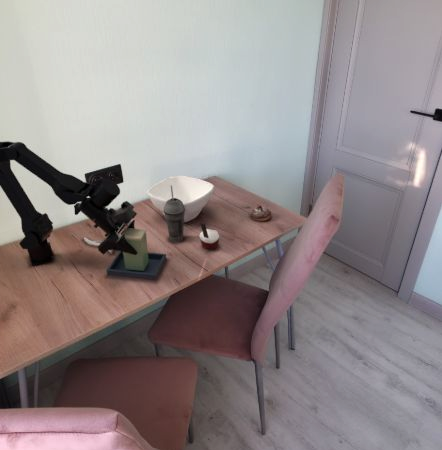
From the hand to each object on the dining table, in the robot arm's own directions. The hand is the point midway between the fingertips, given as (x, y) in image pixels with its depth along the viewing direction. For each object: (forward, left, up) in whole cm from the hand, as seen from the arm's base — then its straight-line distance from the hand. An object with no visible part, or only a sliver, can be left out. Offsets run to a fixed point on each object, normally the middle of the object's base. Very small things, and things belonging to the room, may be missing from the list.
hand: (139, 249), depth 123 cm
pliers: (-7, +20, -7) cm, 22 cm away
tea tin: (-1, +1, -6) cm, 6 cm away
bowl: (+24, +27, -7) cm, 37 cm away
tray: (-1, +1, -7) cm, 7 cm away
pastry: (+51, +13, -7) cm, 53 cm away
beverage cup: (+16, +12, -7) cm, 21 cm away
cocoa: (+24, +2, -7) cm, 25 cm away
